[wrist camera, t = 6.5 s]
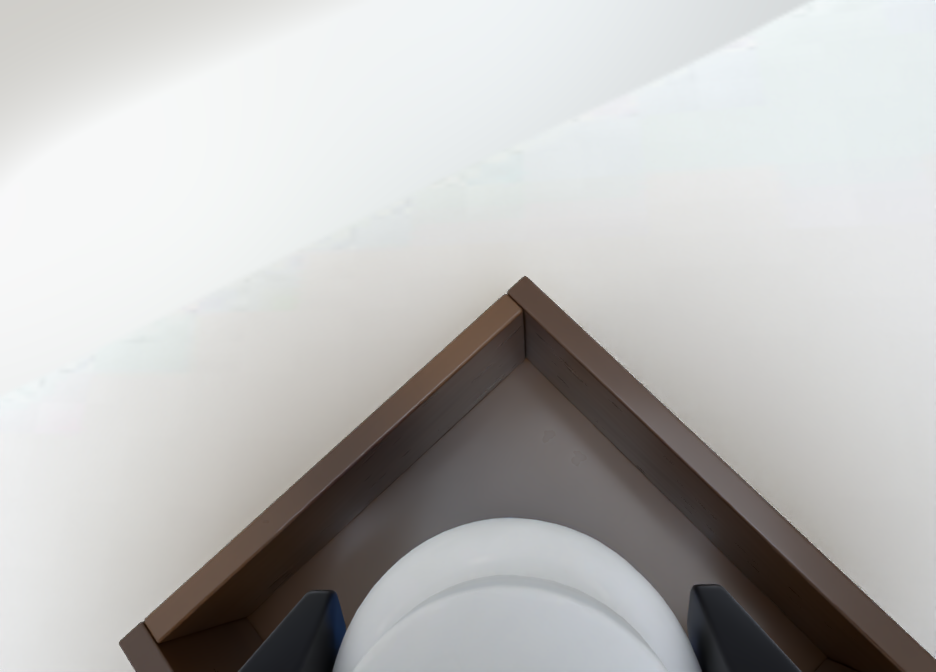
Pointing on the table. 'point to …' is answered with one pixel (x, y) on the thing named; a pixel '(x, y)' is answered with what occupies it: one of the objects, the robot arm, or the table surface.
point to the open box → (523, 504)
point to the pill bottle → (514, 608)
